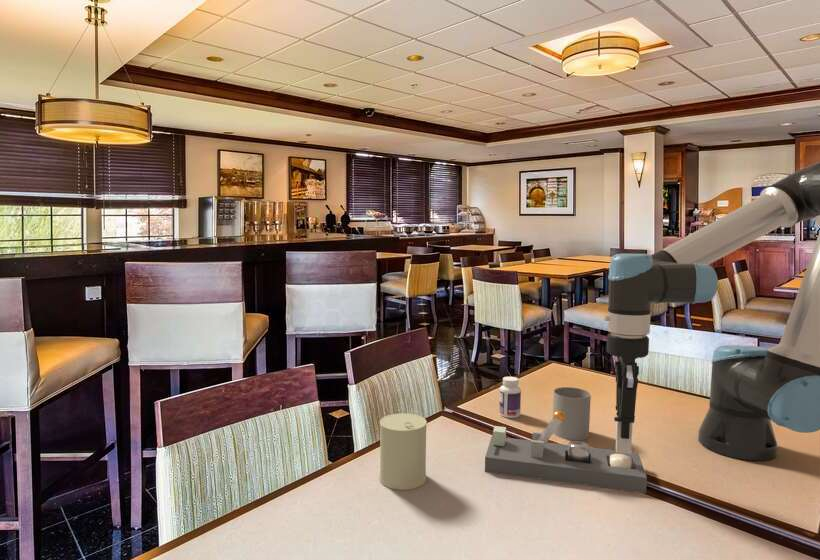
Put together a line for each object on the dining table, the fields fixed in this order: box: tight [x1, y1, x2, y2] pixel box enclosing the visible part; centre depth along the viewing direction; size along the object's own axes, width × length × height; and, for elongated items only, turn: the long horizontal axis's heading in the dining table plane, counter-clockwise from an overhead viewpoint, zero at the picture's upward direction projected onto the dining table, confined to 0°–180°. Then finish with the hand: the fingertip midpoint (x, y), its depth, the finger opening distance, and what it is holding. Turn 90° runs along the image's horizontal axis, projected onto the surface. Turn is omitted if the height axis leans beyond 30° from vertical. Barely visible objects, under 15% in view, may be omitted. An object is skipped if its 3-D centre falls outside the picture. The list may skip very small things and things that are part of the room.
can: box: [378, 412, 428, 491], centre depth 103 cm, size 9×9×12 cm
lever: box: [537, 411, 565, 446], centre depth 108 cm, size 2×3×9 cm
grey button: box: [567, 440, 590, 463], centre depth 106 cm, size 4×4×4 cm
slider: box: [492, 425, 507, 446], centre depth 113 cm, size 2×3×3 cm
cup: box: [552, 386, 592, 441], centre depth 126 cm, size 8×8×10 cm
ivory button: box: [610, 454, 632, 469], centre depth 104 cm, size 4×4×4 cm
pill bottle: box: [498, 376, 522, 419], centre depth 137 cm, size 5×5×10 cm
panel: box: [484, 431, 648, 494], centre depth 107 cm, size 30×11×6 cm, turn 74°
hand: (623, 451), depth 104 cm, fingers closed
